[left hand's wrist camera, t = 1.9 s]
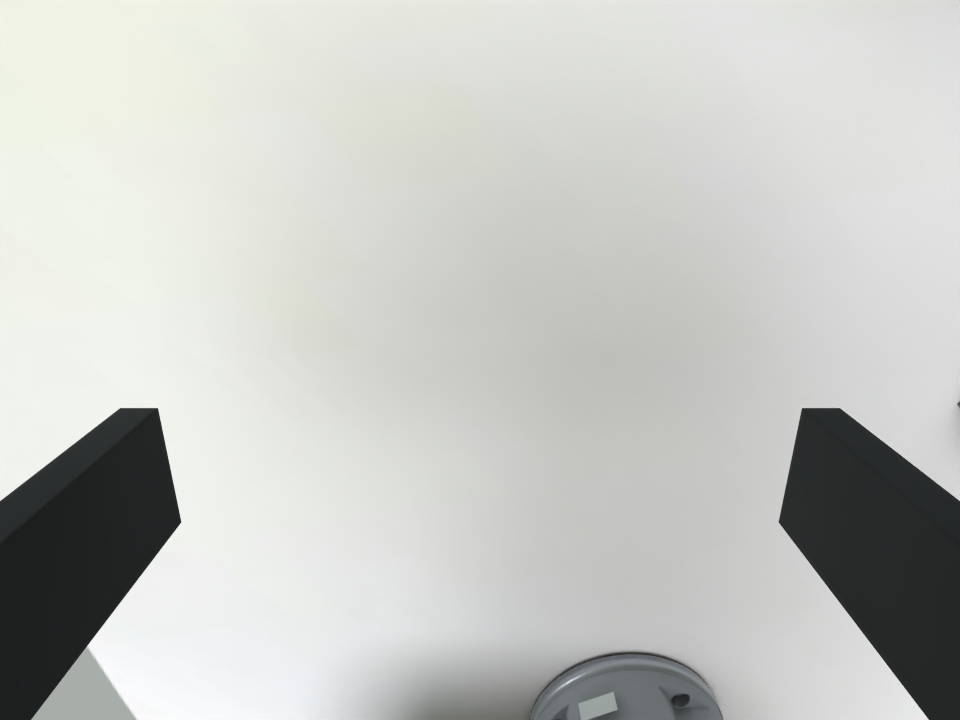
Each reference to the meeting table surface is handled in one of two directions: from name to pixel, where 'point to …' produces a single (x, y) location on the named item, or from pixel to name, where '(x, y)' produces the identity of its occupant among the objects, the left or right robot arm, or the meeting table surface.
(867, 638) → the left robot arm
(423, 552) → the meeting table surface
